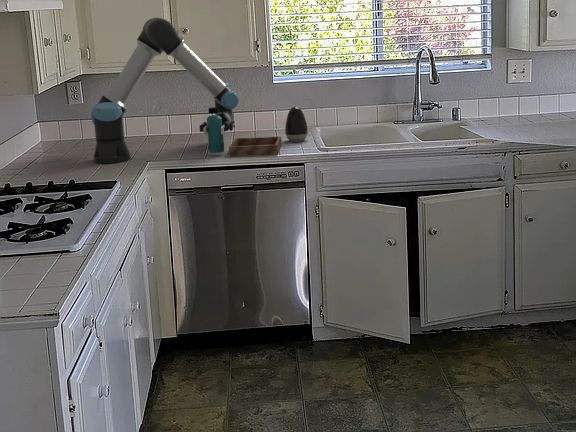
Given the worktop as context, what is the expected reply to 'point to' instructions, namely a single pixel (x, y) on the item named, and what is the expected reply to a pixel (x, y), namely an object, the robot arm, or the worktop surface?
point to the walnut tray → (255, 146)
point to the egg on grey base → (296, 125)
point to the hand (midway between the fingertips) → (213, 131)
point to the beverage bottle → (215, 132)
